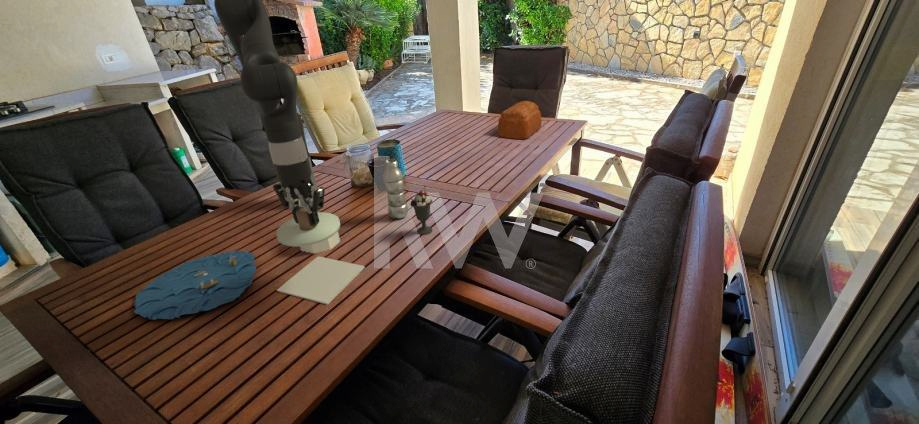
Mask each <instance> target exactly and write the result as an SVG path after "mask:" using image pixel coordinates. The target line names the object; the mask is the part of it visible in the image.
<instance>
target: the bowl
mask: <svg viewBox="0 0 919 424" xmlns="http://www.w3.org/2000/svg"><path fill="white" fill-rule="evenodd" d="M339 243H341V239H340V234H339V230H338V231H337V232H336V233H335V234H334V235H333V236H331V237H330V238H328V239H326V240H324V241H322V242H319V243H316V244H312V245H308V246H299V247H300V251H301V252H304V251H305V253H309V252H310V253H309V254H318V253H321V252H326V251H329V250H332V249H333V248H334V247H335V246H337V245H338V244H339Z"/></svg>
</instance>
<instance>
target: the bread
mask: <svg viewBox="0 0 919 424" xmlns="http://www.w3.org/2000/svg"><path fill="white" fill-rule="evenodd" d="M539 109H540V108H539V105H538V104H536V103H535V102H532V101H529V100H523V101H519V102H517V103H515V104H513V105H512V106H510V107H508V108H507V109H505V110H504V111H501V113H500V117H499V119H498V123H497V133H498V136H499V137H500V138H505V139H506V138H507V139H516V140H526V139H528V138H530V137H531V136H532V135H533V134H535V133H536V132H537V131H539V130H540V129H541V128H542V114H541V113H542V112H541V111H540V110H539Z"/></svg>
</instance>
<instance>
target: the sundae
mask: <svg viewBox="0 0 919 424" xmlns="http://www.w3.org/2000/svg"><path fill="white" fill-rule="evenodd" d="M425 188H427V185H424V186H423V189H422V190H420V191H419V192H418V193H417V194H415V196H414V198H410V199H411V201H410V207H413V210H414V214H415V217H416V219H417V220H418V221H420V222H421V226H420V227H418V228H417V230H416V232H417V234H418V235H429V234H431V233H432V232H433V228H432V227H431V226H427V224H426V223H427V222H426V221H428V220H429V219H430V215H431V204H432V203H433V200H432V199H431V198H430V197H429V195H428V193H427V192H426V191H424V192H423V190H425Z"/></svg>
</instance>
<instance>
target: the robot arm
mask: <svg viewBox="0 0 919 424" xmlns="http://www.w3.org/2000/svg"><path fill="white" fill-rule="evenodd" d="M213 3H214V4H213V5H214V9H215V12H216V15H217V17H218V19H219V22H220V24H221V26H222V27H223V30H224V31H225V33H226V36H227V38H228V40H229V41H230V44H231V45H232V47H233V49H234V51H235V53H236V55H237V57H238V59H239V62H240V63H241V67H242V69H241V73H240V85H241V87H242V90H243V93H244V94H245V96H246V97H247V98H248V99H249V100H252V101H253V102H257V103H258V105H259V107H260V110H261V112H262V117H261V121H262V125H263V128H264V131H265V136H266V138H267V143H268V148H269V153H270V157H271V161H272V165H273V168H274V170H275V175H276V178H277V180H278V181H279V182H277V183H275V184H273V185H272V188H273V190H274V192H275V194H276V195H277V197H278V199H279V201H280V203H281V205H282V206H283V207H284V208H289V210H290V211H291V213H292V217H293V218H294V220H295V222H296V223H297V224H299V223H298V219H297V216H296V210H298V209H300V208H303V207H305V208H306V210H307V212H308V213H307V214H308V218H309V221H310V225H311V226H313V227H314V226H316V225H317V224H318V223H319V217H318V213H317V212H318V211H320V210H321V209H323V208H324V203H325V192H326V190H325V188H324V187H323V186H320V187H318V184H317V181H316V177H315V173H314V169H313V168H314V167H313V163H312V160H311V156H310V153H309V149H308V145H307V141H306V140H307V139H306V135H305V131H304V130H305V129H304V123H303V120H302V117H301V115H300V114H299V113H298V112H297V98H298V97H297V96H298V77H297V74H296V72H295V71H294V69H293V68H292V66H290V65H289V64H287V63H285V62H281V60H280V57H279V55H278V52H277V50H276V47H275V44H274V41H273V32H272V27H271V26H272V25H271V21H270V17H269V14H268V11H267V8H266V5H265V2H264V1H263V0H214V2H213ZM281 100H282V104H281V105H280V106H279V107H278V105H279V104H280V102H281ZM277 107H278V108H277Z"/></svg>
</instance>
